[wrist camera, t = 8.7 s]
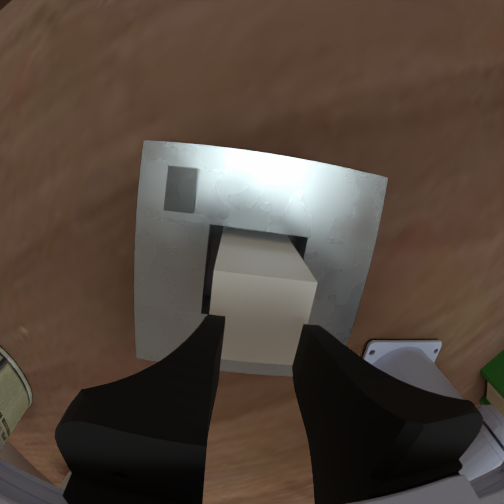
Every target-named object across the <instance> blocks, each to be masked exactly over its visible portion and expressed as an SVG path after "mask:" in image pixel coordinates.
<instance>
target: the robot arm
mask: <svg viewBox="0 0 504 504" xmlns="http://www.w3.org/2000/svg"><path fill="white" fill-rule="evenodd" d="M224 329H225V316H219V315H211V314H208V315H207V316H206V317H205V318H204V320H203V321H202V322H201V324H200V325H199V326H198V327H197V329H196V330H195V331H194V332H193V333H192V334H191V335H190V336H189V337H188V338H187V339H186V340H185V341H184V342H183V343H182V344H181V345H180V346H179V347H177V348H176V349H175V350H174V351H173V352H171V353H170V354H169V355H167V356H166V357H165V358H163V359H162V360H160V361H159V362H157V363H156V364H154V365H152V366H150V367H148V368H146V369H144V370H142V371H141V372H139V373H136V374H134V375H131V376H129V377H127V378H124V379H121V380H118V381H115V382H112V383H108V384H104V385H100V386H96V387H91V388H87V389H82V390H81V391H80V392H79V394H78V395H77V396H76V397H75V398H74V400H73V401H72V402H71V404H70V405H69V407H68V408H67V410H66V412H65V414H64V415H63V417H62V419H61V421H60V422H59V424H58V426H57V428H56V430H55V440H56V443H57V446H58V448H59V450H60V452H61V454H62V456H63V458H64V460H65V462H66V463H67V465H68V467H69V469H70V471H71V476H70V478H69V481H68V483H67V485H66V488H65V490H63V489H61V488H59V487H56V486H54V485H52V484H49V483H47V482H45V481H43V480H40V479H38V478H36V477H34V476H32V475H30V474H28V473H26V472H24V471H22V470H20V469H18V468H16V467H14V466H12V465H11V464H9V463H7V462H6V461H4V460H2V459H0V504H202V500H203V486H204V473H205V461H206V448H207V438H208V431H209V425H210V421H211V416H212V411H213V406H214V401H215V396H216V391H217V386H218V380H219V371H220V363H221V354H222V346H223V338H224ZM441 346H442V342H441V341H440V340H372V341H370V342H369V343H368V344H367V347H366V350H365V352H364V355H363V358H361V357H360V356H359V355H357V354H356V353H354V352H353V351H352V350H350V349H349V348H348V347H347V346H345V345H344V344H343V343H342V342H340V341H339V340H338V339H337V338H335V337H334V336H333V335H332V334H330V333H329V332H328V331H326V330H325V329H324V328H322V327H321V326H319V325H310V324H303V327H302V331H301V335H300V339H299V343H298V347H297V350H296V354H295V358H294V362H293V365H292V372H293V381H294V389H295V393H296V397H297V400H298V404H299V408H300V411H301V415H302V418H303V422H304V426H305V429H306V433H307V437H308V442H309V449H310V456H311V464H312V473H313V483H314V499H315V504H504V417H503V416H502V414H501V413H500V412H499V411H498V410H497V409H496V408H495V407H494V406H493V405H486V406H485V405H484V404H483V405H481V406H480V407H479V408H478V409H477V408H476V407H475V405H474V404H473V403H472V402H471V401H469V400H464V399H463V397H462V396H461V395H460V394H459V392H458V391H457V390H456V389H455V388H454V386H453V385H452V384H451V383H450V382H449V380H448V379H447V378H446V377H445V376H444V374H443V373H442V372H441V371H440V370H439V369H438V367H437V366H436V365H435V364H434V362H435V360H436V357H437V355H438V353H439V351H440V349H441ZM435 349H436V350H435ZM371 350H373V351H372V352H371V353H369V352H370V351H371ZM434 350H435V351H434ZM483 419H484V421H483Z"/></svg>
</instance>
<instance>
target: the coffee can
mask: <svg viewBox="0 0 504 504" xmlns="http://www.w3.org/2000/svg"><path fill="white" fill-rule="evenodd" d="M31 403H32V392H31V389H30V386H29V384H28V382H27V380H26V378H25V376H24V374H23V373H22V371H21V370H20V368H19V367H18V365H17V364H16V363H15V361H14V360H13V359H12V358H11V357H10V355H9V354H8V353H7V352H6V351H5V350H4V349H3V348H2V347H1V346H0V451H1V449H2V447H3V446H4V444H5V442H6V441H7V439H8V438H9V436H10V434H11V433H12V431H13V430H14V428H15V427H16V425H17V423H18V422H19V420H20V419H21V417H22V416H23V414H24V413H25V411H26V410H27V409H28V407H30V405H31Z"/></svg>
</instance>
